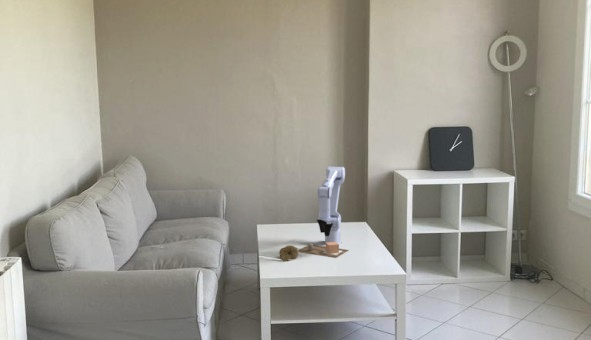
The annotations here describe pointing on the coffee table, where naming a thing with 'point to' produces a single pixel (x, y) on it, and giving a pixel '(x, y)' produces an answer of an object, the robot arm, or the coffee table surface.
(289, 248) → the fossil
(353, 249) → the coffee table surface
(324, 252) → the mat
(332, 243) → the salmon pink cube
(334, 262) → the coffee table surface
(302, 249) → the post board
